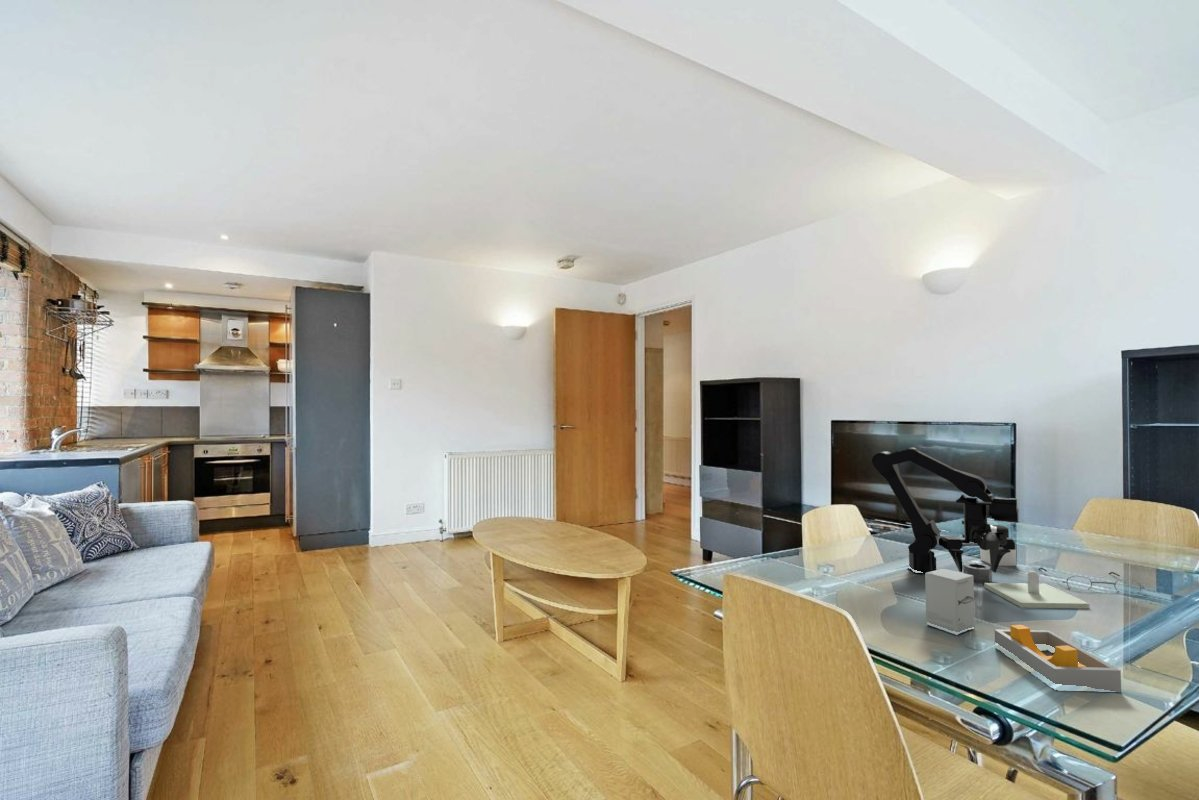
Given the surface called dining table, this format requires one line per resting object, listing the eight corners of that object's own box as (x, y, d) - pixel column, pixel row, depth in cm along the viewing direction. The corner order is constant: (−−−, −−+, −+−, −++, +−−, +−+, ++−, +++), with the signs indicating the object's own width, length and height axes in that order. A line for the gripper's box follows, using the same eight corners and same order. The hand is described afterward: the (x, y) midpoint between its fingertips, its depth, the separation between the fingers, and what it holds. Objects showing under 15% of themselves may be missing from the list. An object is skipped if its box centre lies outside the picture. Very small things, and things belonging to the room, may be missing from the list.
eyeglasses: (1064, 589, 155) (1063, 575, 155) (1037, 572, 173) (1036, 559, 173) (1146, 595, 149) (1145, 580, 149) (1109, 577, 167) (1109, 563, 167)
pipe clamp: (1087, 683, 103) (1085, 649, 103) (1066, 685, 103) (1064, 650, 103) (1030, 655, 115) (1029, 624, 115) (1011, 656, 115) (1010, 625, 115)
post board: (1021, 607, 141) (1020, 579, 141) (984, 587, 157) (983, 562, 157) (1089, 608, 140) (1088, 580, 140) (1045, 587, 156) (1044, 562, 156)
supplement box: (957, 636, 125) (955, 580, 125) (925, 625, 131) (923, 572, 132) (976, 629, 128) (974, 575, 128) (943, 619, 135) (942, 567, 135)
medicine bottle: (1003, 560, 183) (1001, 523, 184) (1017, 566, 176) (1015, 528, 176) (980, 560, 184) (978, 523, 184) (993, 566, 177) (991, 528, 177)
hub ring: (972, 582, 161) (971, 569, 161) (960, 576, 167) (959, 562, 168) (995, 583, 160) (995, 569, 160) (982, 576, 167) (982, 563, 167)
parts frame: (1055, 691, 101) (1054, 668, 101) (995, 648, 118) (994, 629, 119) (1121, 693, 99) (1120, 670, 100) (1050, 649, 117) (1049, 630, 117)
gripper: (956, 524, 157) (958, 580, 157) (1027, 524, 155) (1029, 580, 155) (936, 516, 168) (938, 568, 168) (1002, 516, 166) (1004, 569, 166)
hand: (977, 571), depth 164 cm, fingers open, 9 cm apart
